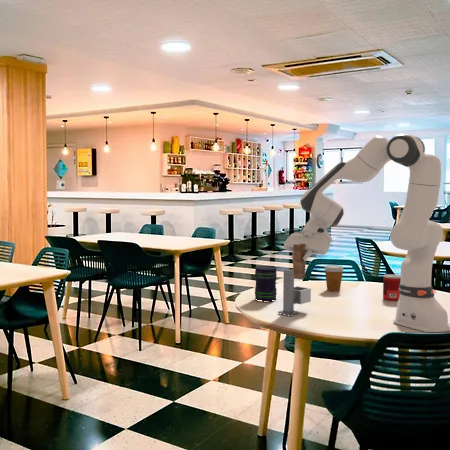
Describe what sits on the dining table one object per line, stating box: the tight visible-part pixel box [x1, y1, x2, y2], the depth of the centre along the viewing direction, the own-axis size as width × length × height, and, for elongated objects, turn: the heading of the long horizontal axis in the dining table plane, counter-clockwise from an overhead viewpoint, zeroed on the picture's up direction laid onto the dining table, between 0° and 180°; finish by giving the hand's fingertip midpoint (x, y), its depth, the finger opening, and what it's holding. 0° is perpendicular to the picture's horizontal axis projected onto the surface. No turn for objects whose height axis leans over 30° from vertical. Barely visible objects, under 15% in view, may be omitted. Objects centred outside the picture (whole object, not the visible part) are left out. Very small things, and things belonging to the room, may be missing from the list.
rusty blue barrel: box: [254, 265, 277, 301], centre depth 236 cm, size 10×10×15 cm
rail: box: [292, 243, 306, 280], centre depth 214 cm, size 4×4×14 cm
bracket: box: [277, 268, 312, 317], centre depth 213 cm, size 14×7×18 cm, turn 136°
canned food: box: [382, 273, 401, 302], centre depth 238 cm, size 8×8×11 cm
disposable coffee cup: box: [323, 264, 344, 292], centre depth 258 cm, size 10×10×12 cm
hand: (298, 259), depth 214 cm, fingers closed on rail, 4 cm apart
